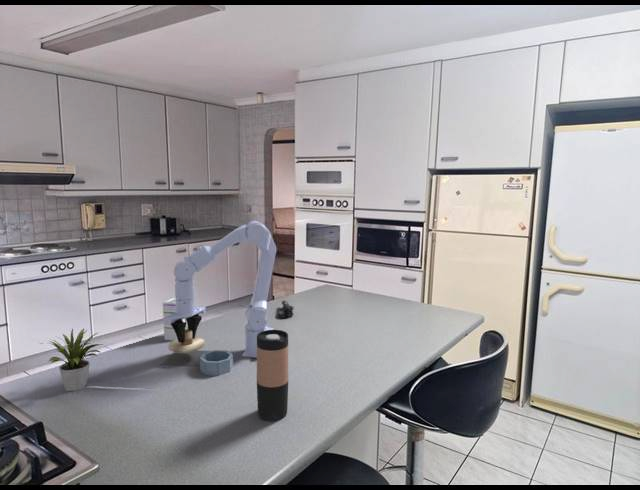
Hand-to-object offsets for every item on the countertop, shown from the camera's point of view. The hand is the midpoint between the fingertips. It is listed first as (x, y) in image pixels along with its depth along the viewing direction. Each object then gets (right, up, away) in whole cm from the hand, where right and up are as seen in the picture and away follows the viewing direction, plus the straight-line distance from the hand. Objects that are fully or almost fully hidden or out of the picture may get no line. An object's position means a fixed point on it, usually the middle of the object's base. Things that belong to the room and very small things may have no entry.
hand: (186, 340), depth 130 cm
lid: (0, -2, 0) cm, 2 cm away
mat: (0, -6, +1) cm, 6 cm away
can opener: (+27, 0, +52) cm, 59 cm away
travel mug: (+31, -11, -30) cm, 44 cm away
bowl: (+11, -8, -7) cm, 15 cm away
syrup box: (-10, -4, +18) cm, 21 cm away
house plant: (-25, -9, -19) cm, 33 cm away
